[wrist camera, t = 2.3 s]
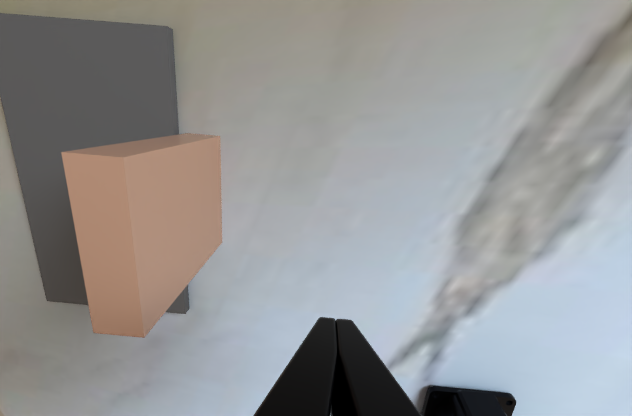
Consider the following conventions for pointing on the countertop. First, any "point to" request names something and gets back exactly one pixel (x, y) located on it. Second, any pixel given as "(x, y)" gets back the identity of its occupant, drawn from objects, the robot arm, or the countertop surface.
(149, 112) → the mat
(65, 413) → the countertop surface
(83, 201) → the tile
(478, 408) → the robot arm
